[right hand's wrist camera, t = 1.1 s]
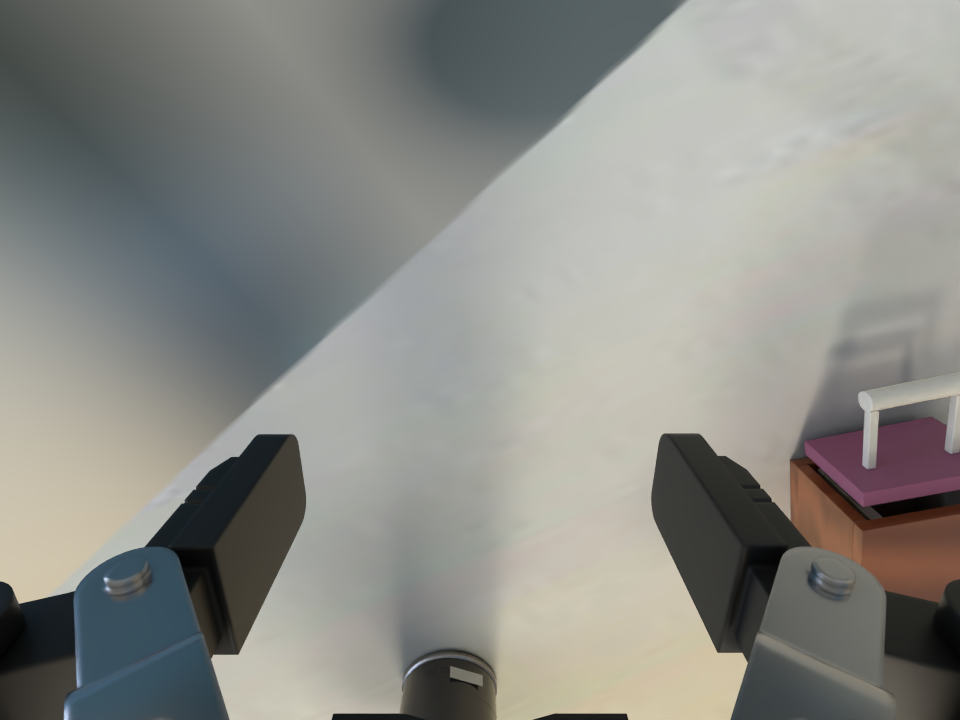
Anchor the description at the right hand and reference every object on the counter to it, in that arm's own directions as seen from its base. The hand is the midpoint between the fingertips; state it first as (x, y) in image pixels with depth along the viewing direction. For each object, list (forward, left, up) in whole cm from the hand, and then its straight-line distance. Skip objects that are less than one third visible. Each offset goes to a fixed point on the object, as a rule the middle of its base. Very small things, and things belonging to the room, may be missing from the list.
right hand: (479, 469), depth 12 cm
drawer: (-18, -31, -26) cm, 44 cm away
